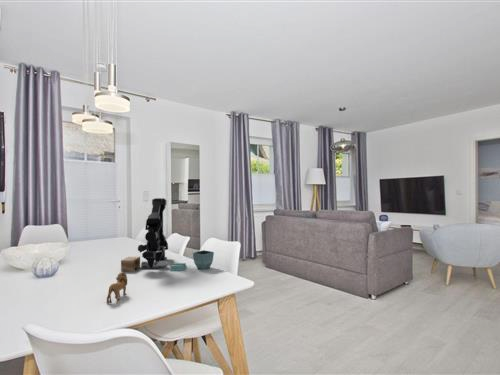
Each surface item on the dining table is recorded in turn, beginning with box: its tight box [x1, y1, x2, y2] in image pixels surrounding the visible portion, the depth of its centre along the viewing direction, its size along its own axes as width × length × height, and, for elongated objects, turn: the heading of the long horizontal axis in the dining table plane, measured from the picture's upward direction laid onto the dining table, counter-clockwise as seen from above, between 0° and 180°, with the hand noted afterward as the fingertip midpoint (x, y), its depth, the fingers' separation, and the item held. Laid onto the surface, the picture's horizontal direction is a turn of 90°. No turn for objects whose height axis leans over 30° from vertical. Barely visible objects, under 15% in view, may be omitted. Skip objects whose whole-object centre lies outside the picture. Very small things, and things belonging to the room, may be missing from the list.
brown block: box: [120, 256, 141, 272], centre depth 165 cm, size 9×7×6 cm
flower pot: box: [192, 249, 215, 270], centre depth 165 cm, size 9×9×9 cm
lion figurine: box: [106, 271, 128, 304], centre depth 120 cm, size 15×5×9 cm, turn 6°
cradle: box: [169, 262, 187, 272], centre depth 163 cm, size 8×7×2 cm
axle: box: [140, 260, 168, 269], centre depth 166 cm, size 4×14×4 cm
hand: (154, 266), depth 164 cm, fingers open, 9 cm apart
